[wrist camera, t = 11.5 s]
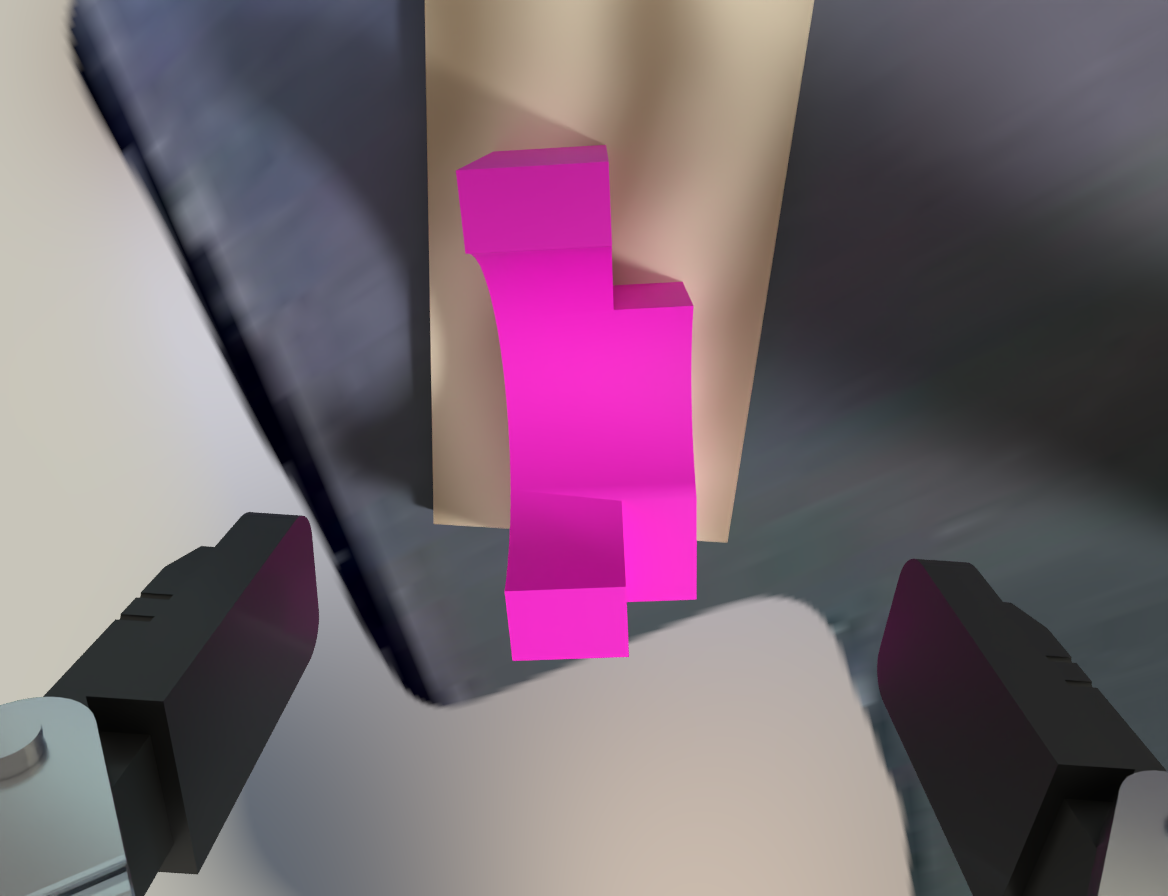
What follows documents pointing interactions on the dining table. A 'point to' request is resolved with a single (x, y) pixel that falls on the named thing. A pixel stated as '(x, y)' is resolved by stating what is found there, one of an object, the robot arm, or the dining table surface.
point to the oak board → (613, 198)
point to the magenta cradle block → (583, 405)
